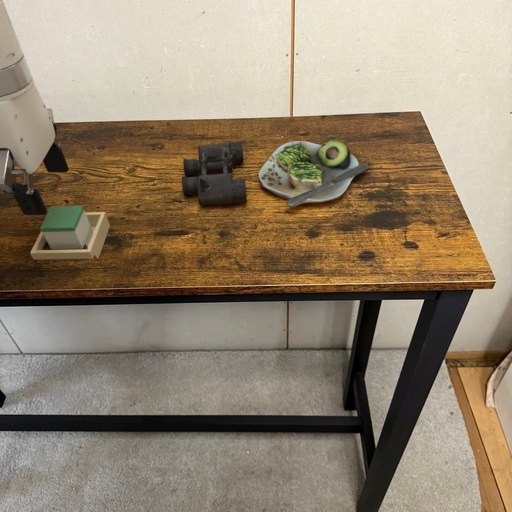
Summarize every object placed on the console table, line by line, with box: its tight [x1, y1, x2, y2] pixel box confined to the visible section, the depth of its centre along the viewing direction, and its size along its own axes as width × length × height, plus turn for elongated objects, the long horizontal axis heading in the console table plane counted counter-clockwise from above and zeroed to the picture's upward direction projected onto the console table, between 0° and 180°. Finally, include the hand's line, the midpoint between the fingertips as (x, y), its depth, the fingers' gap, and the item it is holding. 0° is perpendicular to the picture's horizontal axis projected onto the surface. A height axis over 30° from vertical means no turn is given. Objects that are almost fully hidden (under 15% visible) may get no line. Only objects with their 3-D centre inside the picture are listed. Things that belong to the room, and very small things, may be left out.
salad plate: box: [258, 139, 369, 208], centre depth 81 cm, size 19×18×5 cm
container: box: [39, 205, 93, 250], centre depth 71 cm, size 5×5×6 cm
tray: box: [29, 211, 111, 261], centre depth 72 cm, size 9×9×3 cm
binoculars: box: [181, 141, 248, 206], centre depth 81 cm, size 11×16×6 cm
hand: (47, 191), depth 66 cm, fingers open, 9 cm apart
